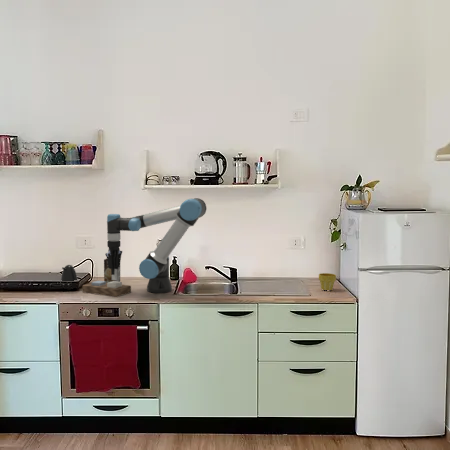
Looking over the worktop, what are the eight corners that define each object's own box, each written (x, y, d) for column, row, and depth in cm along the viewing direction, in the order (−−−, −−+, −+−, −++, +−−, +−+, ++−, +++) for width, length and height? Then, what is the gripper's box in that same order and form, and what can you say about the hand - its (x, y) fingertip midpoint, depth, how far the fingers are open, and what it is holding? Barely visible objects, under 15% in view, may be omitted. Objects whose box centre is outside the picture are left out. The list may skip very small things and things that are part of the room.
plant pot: (330, 287, 324) (330, 272, 323) (338, 291, 314) (339, 275, 313) (315, 288, 320) (315, 273, 319) (323, 292, 311) (323, 276, 310)
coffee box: (103, 284, 330) (103, 259, 329) (108, 282, 337) (107, 257, 335) (116, 284, 328) (116, 260, 327) (121, 282, 334) (120, 258, 333)
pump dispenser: (56, 290, 313) (56, 265, 311) (69, 286, 322) (68, 262, 320) (69, 291, 308) (68, 266, 306) (81, 288, 317) (81, 264, 316)
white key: (121, 287, 306) (121, 282, 306) (115, 289, 301) (115, 283, 301) (113, 286, 309) (113, 281, 309) (107, 288, 304) (107, 282, 303)
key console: (130, 292, 308) (130, 285, 307) (117, 296, 296) (116, 290, 296) (97, 287, 320) (97, 281, 319) (82, 291, 308) (82, 285, 308)
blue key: (106, 286, 312) (105, 281, 311) (99, 288, 306) (99, 283, 306) (98, 285, 314) (98, 280, 314) (91, 287, 309) (91, 282, 309)
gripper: (115, 238, 310) (116, 277, 312) (101, 241, 298) (102, 281, 300) (125, 239, 306) (126, 278, 309) (111, 242, 295) (112, 282, 297)
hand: (114, 279), depth 304 cm, fingers closed
